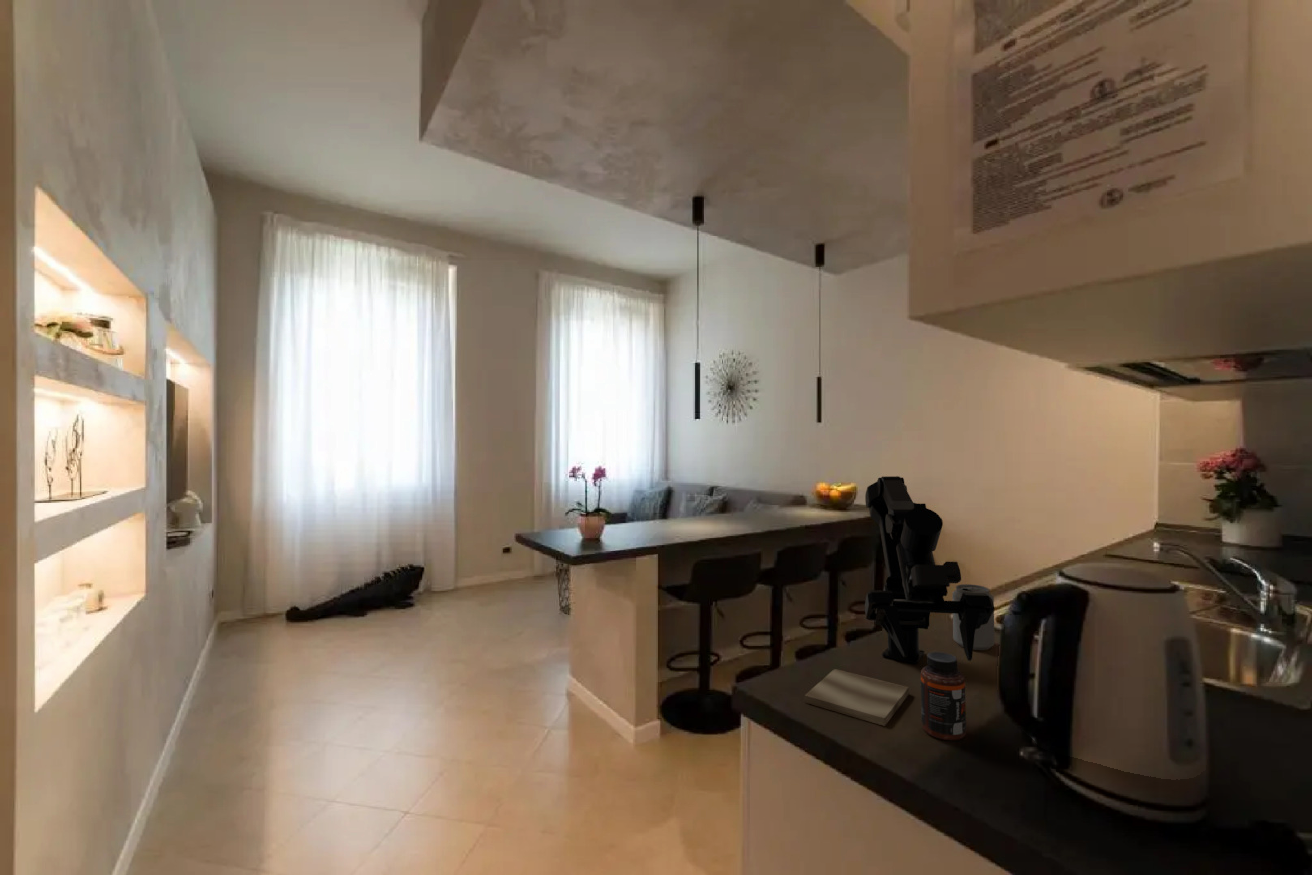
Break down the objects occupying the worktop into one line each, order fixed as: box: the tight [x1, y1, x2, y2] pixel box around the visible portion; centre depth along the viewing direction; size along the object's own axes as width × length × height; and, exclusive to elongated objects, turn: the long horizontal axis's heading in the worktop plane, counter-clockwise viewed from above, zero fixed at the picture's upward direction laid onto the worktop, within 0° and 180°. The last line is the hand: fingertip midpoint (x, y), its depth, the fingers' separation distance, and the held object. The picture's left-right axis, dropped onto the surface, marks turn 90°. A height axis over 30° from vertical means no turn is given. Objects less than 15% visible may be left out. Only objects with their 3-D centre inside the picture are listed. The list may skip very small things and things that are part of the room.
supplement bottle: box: [920, 651, 967, 741], centre depth 85 cm, size 6×6×11 cm
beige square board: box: [804, 668, 910, 727], centre depth 96 cm, size 13×13×1 cm
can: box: [951, 583, 996, 651], centre depth 117 cm, size 8×8×12 cm
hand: (937, 657), depth 87 cm, fingers open, 9 cm apart
